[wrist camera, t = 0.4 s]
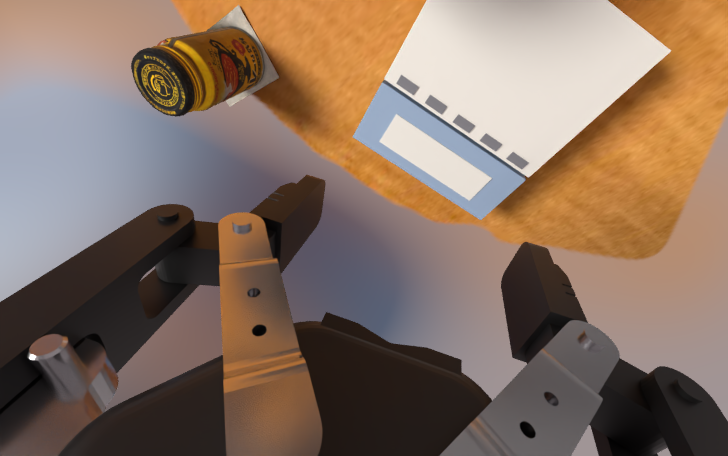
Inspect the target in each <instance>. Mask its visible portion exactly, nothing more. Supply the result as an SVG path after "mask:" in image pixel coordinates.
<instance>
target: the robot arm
mask: <svg viewBox="0 0 728 456" xmlns="http://www.w3.org/2000/svg"><path fill="white" fill-rule="evenodd" d="M324 191H325V181H324V180H322V179H319V178H316V177H313V176H309V175H306V176H305V177H304V178H303V179H302V180H300V181H299V182H298V183H297V184H295V183H289V184H286V185H283V186H280V187H279V188H278V189H277V190H276V191H275V192H274V193H272V194H271V195H270V196H269V197H268V198H266V199H265V200H264V201H263V202H261V203H260V204H259V205H258V206H257V207H256V208H254V209H253V210H252V211H251V212H250V213H234V214H230V215H228V216H226V217H224V218H223V219H222V220H220V222H219V223H212V222H202V221H195V220H194V214H193V211H192V210H191V209H190V208H188V207H186V206H183V205H177V204H167V205H160V206H157V207H154V208H151V209H150V210H147V211H146V212H144V213H143V214H141V215H139V216H138V217H136V218H134V219H133V220H131V221H130V222H128V223H126V224H125V225H123V226H122V227H120V228H118V229H117V230H115V231H114V232H112V233H111V234H109V235H107V236H106V237H104V238H102V239H101V240H99V241H98V242H96V243H94V244H93V245H91V246H90V247H88V248H86V249H85V250H83V251H82V252H80V253H78V254H77V255H75V256H74V257H72V258H70V259H69V260H67V261H65V262H64V263H62V264H61V265H59V266H58V267H56V268H54V269H53V270H51V271H49V272H48V273H46V274H45V275H43V276H41V277H40V278H38V279H37V280H35V281H33V282H32V283H30V284H29V285H27V286H25V287H24V288H22V289H21V290H19V291H17V292H16V293H14V294H13V295H11V296H9V297H8V298H6V299H4V300H3V301H1V302H0V456H571V455H572V453H573V451H574V449H575V448H576V446H577V444H578V443H579V441H580V439H581V437H582V436H583V434H584V432H585V430H586V429H587V427H588V425H590V426H591V429H592V432H593V436H594V440H595V443H596V447H597V450H598V454H599V456H658V455H657V453H658V452H660V451H662V450H664V449H666V448H668V449H669V451H670V453H671V455H672V456H728V421H727V420H726V418H725V417H724V415H723V414H722V412H721V410H720V409H719V407H718V406H717V404H716V403H715V401H714V400H713V399H712V397H711V396H710V395H709V394H708V393H707V392H706V391H705V390H704V389H703V388H702V387H701V386H699V385H698V384H697V383H696V382H695V381H693V380H692V379H691V378H689V377H688V376H686V375H684V374H683V373H681V372H679V371H677V370H674V369H672V368H668V367H661V366H660V367H657V368H656V369H654V370H653V371H652V372H650V373H649V374H647V373H645V372H643V371H641V370H640V369H638V368H636V367H634V366H633V365H631V364H629V363H627V362H625V361H624V360H622V359H620V357H619V351H618V349H617V347H616V345H615V344H614V343H613V341H612V340H611V339H610V338H609V337H608V336H607V335H606V334H605V333H603V332H602V331H601V330H599V329H598V328H596V327H594V326H593V325H591V324H589V323H588V322H587V320H586V317H585V315H584V313H583V311H582V308H581V306H580V304H579V301H578V299H577V297H575V292H574V290H573V289H572V288H571V287H572V286H571V283H570V281H569V279H568V277H567V275H566V274H565V273H564V272H563V271H562V270H561V268H560V267H559V266H558V265H556V264H554V263H553V260H552V258H551V256H550V253H549V251H548V249H547V248H545V247H542V246H538V245H535V244H532V243H528V242H524V243H523V244H522V245H521V246H520V248H519V250H518V251H517V253H516V254H515V256H514V258H513V260H512V261H511V262H510V264H509V266H508V267H507V269H506V270H505V272H504V275H503V277H502V281H501V289H502V295H503V301H504V308H505V314H506V320H507V326H508V332H509V339H510V345H511V350H512V357H513V358H515V359H518V360H521V361H524V362H526V363H527V365H526V366H525V367H524V368H523V370H521V372H520V373H519V374H518V375H517V376H516V377H515V378H514V379H513V380H512V381H511V382H510V383H509V384H508V385H507V386H506V387H505V388H504V389H503V390H502V391H501V392H500V393H499V395H498V396H497V397H496V398H495V399H494V400H493V401H492V400H491V398H490V397H489V396H488V395H487V394H486V393H485V392H484V391H483V390H482V388H481V387H479V386H478V385H477V384H476V383H475V382H474V381H473V380H471V379H470V378H469V377H467V376H466V375H464V374H463V373H462V372H461V360H460V359H457V358H454V357H452V356H449V355H446V354H443V353H440V352H437V351H435V350H432V349H429V348H424V347H416V346H408V345H400V344H393V343H389V342H387V341H386V340H384V339H382V338H381V337H379V336H378V335H376V334H374V333H373V332H371V331H370V330H368V329H366V328H365V327H363V326H361V325H360V324H358V323H355V322H353V321H350V320H347V319H344V318H341V317H338V316H336V315H333V314H330V313H327V312H326V314H325V316H324V318H323V320H322V322H318V321H306V322H298V323H293V320H292V316H291V312H290V308H289V304H288V301H287V296H286V292H285V288H284V284H283V280H282V276H281V273H282V272H283V271H284V269H285V268H286V267H287V265H288V264H289V262H290V261H291V260H292V259H293V257H294V256H295V255H296V253H297V252H298V251H299V249H300V248H301V247H302V245H303V244H304V243H305V241H306V240H307V239H308V237H309V236H310V235H311V233H312V232H313V231H314V229H315V228H316V227H317V225H318V223H319V221H320V217H321V213H322V206H323V199H324ZM154 266H155V269H154V270H153V271H152V272H151V273H150V274H148V275H147V276H146V277H145V278H144V279H142V280H141V278H142V277H143V276H144V275H145V274H146V273H147V272H148V271H149V270H151V269H152V268H153V267H154ZM140 280H141V281H140ZM199 285H211V286H220V298H221V321H222V344H223V355H221V356H219V357H217V358H215V359H213V360H211V361H209V362H206V363H204V364H202V365H200V366H198V367H196V368H194V369H192V370H189V371H187V372H185V373H183V374H181V375H179V376H177V377H175V378H172V379H170V380H168V381H166V382H164V383H162V384H160V385H158V386H155V387H153V388H151V389H149V390H147V391H145V392H143V393H140V394H138V395H136V396H134V397H132V398H130V399H128V400H126V401H124V402H122V403H120V404H118V405H116V406H114V407H112V408H110V409H109V410H107V411H106V412H104V411H105V409H106V406H107V405H108V403H109V402H110V400H111V399H112V398H113V396H114V394H115V392H116V390H117V387H118V382H119V380H118V375H117V372H118V371H119V370H120V369H121V368H122V367H123V366H124V365H125V364H126V363H127V362H128V361H129V360H130V358H132V356H133V355H134V354H135V353H136V352H137V351H138V350H139V349H140V348H141V347H142V346H143V345H144V343H146V341H147V340H148V339H149V338H150V337H151V336H152V335H153V334H154V333H155V332H156V331H157V330H158V329H159V328H160V326H161V325H162V324H163V323H164V322H165V321H166V320H167V319H168V318H169V317H170V315H172V314H173V312H174V311H175V310H176V309H177V308H178V307H179V306H180V305H181V304H182V303H183V302H184V301H185V300H186V299H187V298H188V297H189V295H190V294H191V293H192V292H193V291H194V290H195V289H196V288H197V287H198V286H199Z"/></svg>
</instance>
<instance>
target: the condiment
mask: <svg viewBox="0 0 728 456" xmlns="http://www.w3.org/2000/svg"><path fill="white" fill-rule="evenodd" d="M131 69H132V73H133V77H134V80H135V83H136V85H137V87H138V89H139V91H140V92H141V94H142V96H143V97H144V98H145V99H146V100H147V101H148V102H149V103H150V104H151V105H152V106H153V107H154V108H155V109H157V110H158V111H160V112H162V113H163V114H166V115H170V116H181V115H184V114H186V113H188V112H192V111H203V110H207V109H209V108H211V107H212V106H214V105H217V104H219V103H221V102H224V101H226V102H227V103H228V105H229V106H232V105H234V104H236V103H237V102H239V101H240V100H242V99H244V98H246V97H247V96H249V95H251V94H252V93H254V92H256V91H258V90H259V89H261V88H263V87H264V86H266V85H268V84H269V83H271V82H273V81H274V80H276V79H278V78H279V76H278V74H277V72H276V70H275V68H274V66H273V65H272V63H271V61H270V59H269V57H268V55H267V54H266V52H265V50H264V48H263V46H262V44H261V43H260V41H259V39H258V38H257V36H256V34H255V32H254V31H253V29H252V27H251V26H250V24H249V22H248V21H247V19H246V17H245V16H244V14H243V12H242V10H241V8H240V6H239V5H238V6H237V7H236V8H234V9H233V10H232V11H231V12H230V13H228V14H227V15H226V16H225V17H223V18H222V19H221V20H220V21H219V22H217V23H216V24H215V25H214V26H212V27H211V28H210V29H208V30H207V31H205V32H200V33H195V34H189V35H184V36H179V37H172V38H167V39H165V40H163V41H161V42H160V43H159V44H158V45H157V46H154V47H152V48H146V49H143V50H141V51H139V52H138V53H137V54H136V55H135V56H134V58H133V60H132V63H131Z"/></svg>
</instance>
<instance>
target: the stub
mask: <svg viewBox="0 0 728 456" xmlns="http://www.w3.org/2000/svg"><path fill="white" fill-rule="evenodd" d="M353 138H355V139H356V140H358V141H360V142H361V143H363V144H364V145H366V146H367V147H369V148H370V149H372V150H373V151H375V152H376V153H378V154H380V155H381V156H383V157H384V158H386V159H387V160H389V161H390V162H392V163H393V164H395V165H397V166H398V167H400V168H401V169H403V170H404V171H406V172H407V173H409V174H410V175H412V176H413V177H415V178H417V179H418V180H420V181H421V182H423V183H424V184H426V185H427V186H429V187H430V188H432V189H434V190H435V191H437V192H438V193H440V194H441V195H443V196H444V197H446V198H447V199H449V200H450V201H452V202H454V203H455V204H457V205H458V206H460V207H461V208H463V209H464V210H466V211H467V212H469V213H470V214H472V215H474V216H475V217H477V218H478V219H480V220H481V219H483V218H484V217H485V216H486V215H487V214H488V213H489V212H490V211H492V210H493V209H494V208H495V207H496V206H497V205H498V204H499V203H501V202H502V201H503V200H504V199H505V198H506V197H507V196H508V195H510V194H511V193H512V192H513V191H514V190H515V189H516V188H517V187H519V186H520V185H521V184H522V183H523V182H524V181H525V180H526V179H525V175H524V174H522V173H521V172H519V171H518V170H516V169H515V168H513V167H512V166H511V165H509V164H508V163H506V162H505V161H503V160H502V159H500V158H499V157H497V156H496V155H494V154H493V153H492V152H490V151H489V150H487V149H486V148H484V147H483V146H481V145H480V144H478V143H477V142H475V141H474V140H472V139H471V138H470V137H468V136H467V135H465V134H464V133H462V132H461V131H459V130H458V129H456V128H455V127H453V126H452V125H451V124H449V123H448V122H446V121H445V120H443V119H442V118H440V117H439V116H437V115H436V114H434V113H433V112H431V111H430V110H429V109H427V108H426V107H424V106H423V105H421V104H420V103H418V102H417V101H415V100H414V99H412V98H411V97H410V96H408V95H407V94H405V93H404V92H402V91H401V90H399V89H398V88H396V87H395V86H393V85H392V84H390V83H389V82H388V81H386V80H384V81H383V82H382V84H381V86H380V87H379V89H378V91H377V93H376V95H375V97H374V98H373V100H372V102H371V104H370V106H369V108H368V110H367V111H366V113H365V115H364V117H363V119H362V121H361V122H360V124H359V126H358V128H357V130H356V132H355V134H354V135H353Z"/></svg>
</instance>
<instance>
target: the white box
mask: <svg viewBox="0 0 728 456" xmlns="http://www.w3.org/2000/svg"><path fill="white" fill-rule="evenodd" d="M669 52H671V50H670V49H668V48H667V47H666V46H665V45H663V44H662V43H661V42H659V41H658V40H657V39H656V38H654V37H653V36H652V35H651V34H649V33H648V32H647V31H646V30H644V29H643V28H642V27H641V26H639V25H638V24H637V23H636V22H634V21H633V20H632V19H631V18H629V17H628V16H627V15H625V14H624V13H623V12H622V11H620V10H619V9H618V8H617V7H615V6H614V5H613V4H612V3H610V2H609V1H608V0H427V1H426V3H425V4H424V6H423V8H422V10H421V12H420V14H419V16H418V17H417V19H416V21H415V23H414V25H413V27H412V28H411V30H410V32H409V34H408V36H407V38H406V39H405V41H404V43H403V45H402V47H401V49H400V51H399V52H398V54H397V56H396V58H395V60H394V62H393V63H392V65H391V67H390V69H389V71H388V73H387V75H386V76H385V78H384V79H385V80H386V81H388V82H389V83H390V84H392V85H393V86H395V87H396V88H398V89H399V90H401V91H402V92H404V93H405V94H407V95H408V96H410V97H411V98H412V99H414V100H415V101H417V102H418V103H420V104H421V105H423V106H424V107H426V108H427V109H429V110H430V111H431V112H433V113H434V114H436V115H437V116H439V117H440V118H442V119H443V120H445V121H446V122H448V123H449V124H451V125H452V126H453V127H455V128H456V129H458V130H459V131H461V132H462V133H464V134H465V135H467V136H468V137H470V138H471V139H472V140H474V141H475V142H477V143H478V144H480V145H481V146H483V147H484V148H486V149H487V150H489V151H490V152H492V153H493V154H494V155H496V156H497V157H499V158H500V159H502V160H503V161H505V162H506V163H508V164H509V165H511V166H512V167H513V168H515V169H516V170H518V171H519V172H521V173H522V174H524V175H525V176H527V177H528V178H529V177H530V176H531V175H532V174H533V173H534V172H536V171H537V170H538V169H539V168H540V167H541V166H542V165H543V164H545V163H546V162H547V161H548V160H549V159H550V158H551V157H552V156H554V155H555V154H556V153H557V152H558V151H559V150H560V149H561V148H563V147H564V146H565V145H566V144H567V143H568V142H569V141H570V140H572V139H573V138H574V137H575V136H576V135H577V134H578V133H579V132H581V131H582V130H583V129H584V128H585V127H586V126H587V125H588V124H590V123H591V122H592V121H593V120H594V119H595V118H596V117H597V116H599V115H600V114H601V113H602V112H603V111H604V110H605V109H606V108H608V107H609V106H610V105H611V104H612V103H613V102H614V101H615V100H617V99H618V98H619V97H620V96H621V95H622V94H623V93H624V92H626V91H627V90H628V89H629V88H630V87H631V86H632V85H633V84H635V83H636V82H637V81H638V80H639V79H640V78H641V77H642V76H644V75H645V74H646V73H647V72H648V71H649V70H650V69H651V68H653V67H654V66H655V65H656V64H657V63H658V62H659V61H660V60H662V59H663V58H664V57H665V56H666V55H667V54H668V53H669Z"/></svg>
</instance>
